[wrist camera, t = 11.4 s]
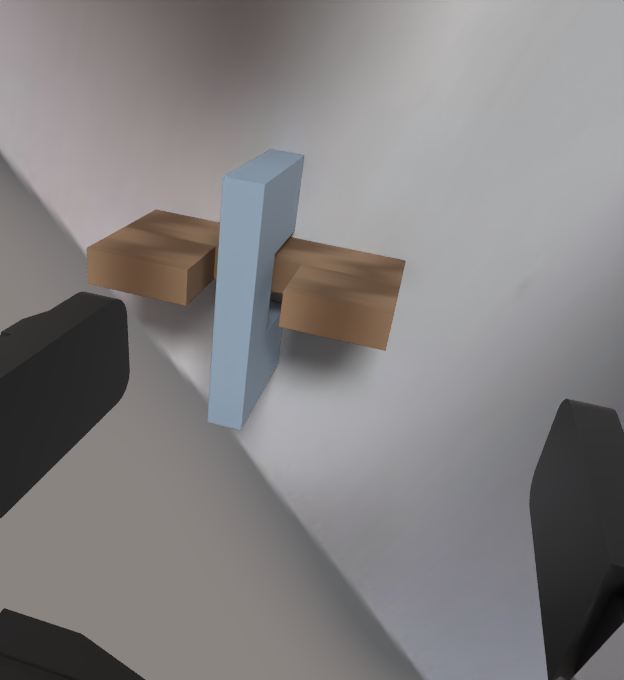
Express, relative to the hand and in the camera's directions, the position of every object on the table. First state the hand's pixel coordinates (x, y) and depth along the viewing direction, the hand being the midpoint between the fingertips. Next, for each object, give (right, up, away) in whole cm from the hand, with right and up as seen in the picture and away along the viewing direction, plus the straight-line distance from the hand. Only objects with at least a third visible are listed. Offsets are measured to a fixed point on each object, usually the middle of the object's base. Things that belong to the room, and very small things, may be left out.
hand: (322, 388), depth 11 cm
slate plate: (-3, +6, +26) cm, 27 cm away
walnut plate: (-2, +6, +26) cm, 27 cm away
